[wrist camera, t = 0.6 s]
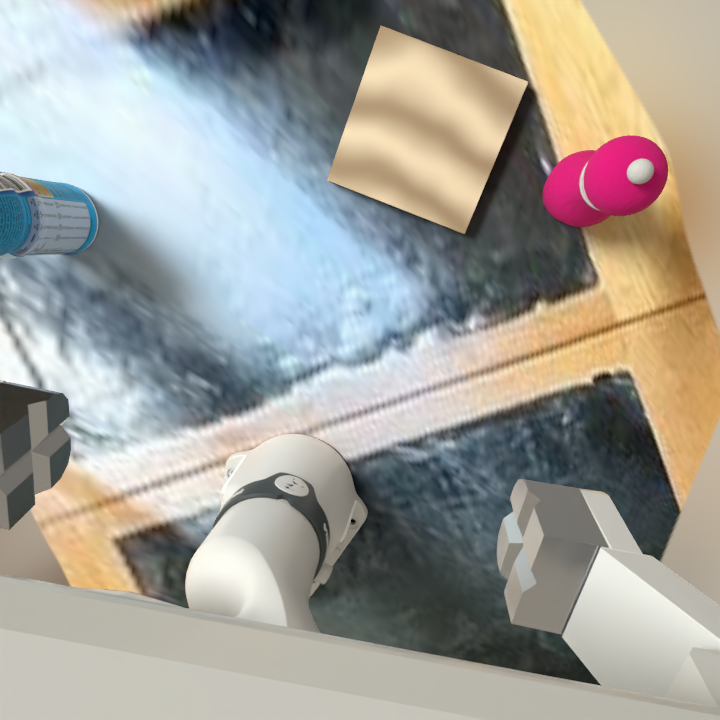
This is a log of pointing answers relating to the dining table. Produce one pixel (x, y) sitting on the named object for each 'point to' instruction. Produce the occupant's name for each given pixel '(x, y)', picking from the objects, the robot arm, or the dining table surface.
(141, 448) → the dining table surface
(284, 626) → the robot arm
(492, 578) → the dining table surface
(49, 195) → the beverage bottle
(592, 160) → the pepper mill
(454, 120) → the oak board
